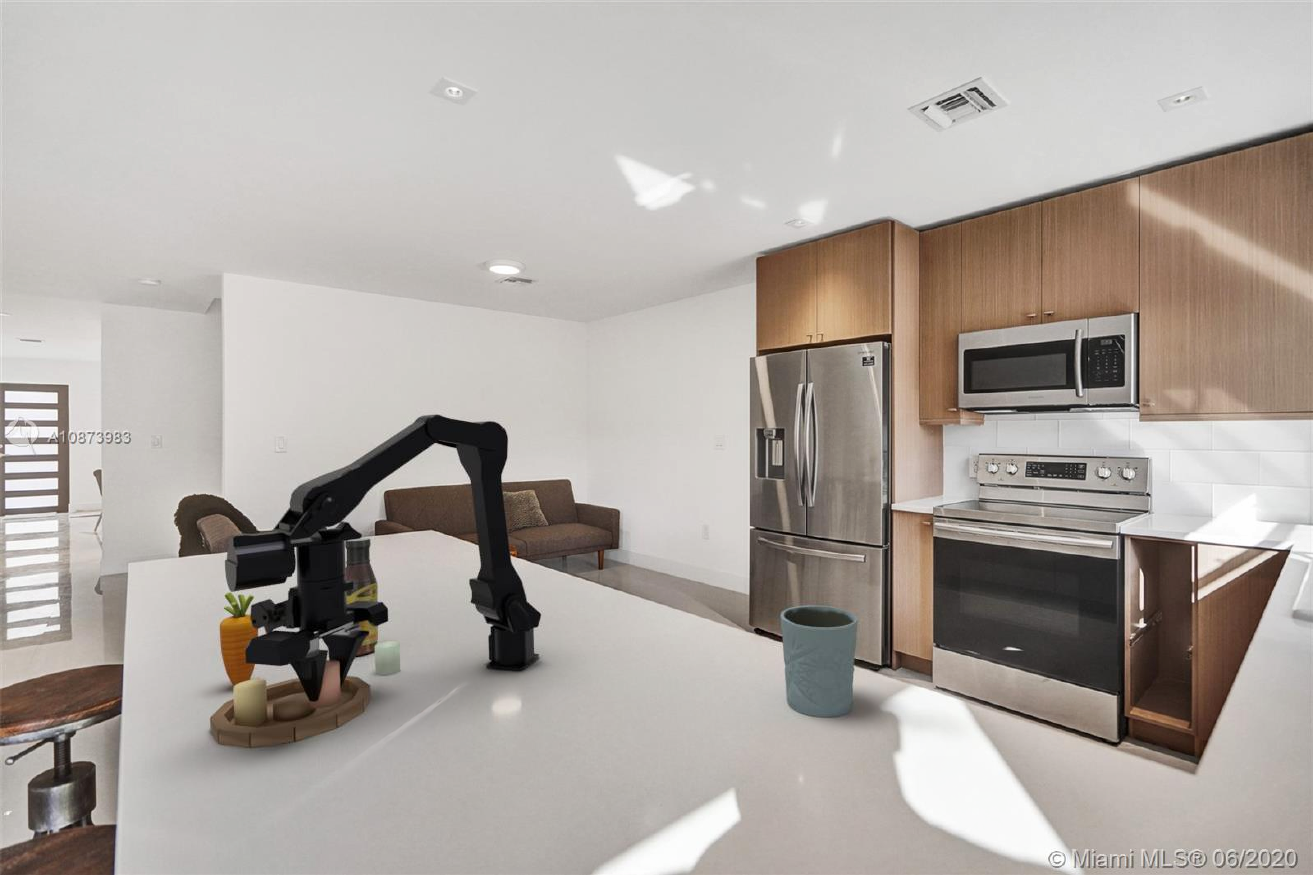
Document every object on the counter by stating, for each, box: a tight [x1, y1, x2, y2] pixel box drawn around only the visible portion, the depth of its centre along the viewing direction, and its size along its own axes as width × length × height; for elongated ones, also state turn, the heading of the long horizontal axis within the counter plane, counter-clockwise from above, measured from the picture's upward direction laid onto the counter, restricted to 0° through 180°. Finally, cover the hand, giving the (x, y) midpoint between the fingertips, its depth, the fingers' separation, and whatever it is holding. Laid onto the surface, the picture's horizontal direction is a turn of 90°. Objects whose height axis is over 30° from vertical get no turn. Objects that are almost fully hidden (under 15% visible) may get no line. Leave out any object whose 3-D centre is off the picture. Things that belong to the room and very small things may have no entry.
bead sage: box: [374, 640, 401, 676], centre depth 100 cm, size 4×4×5 cm
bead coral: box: [310, 659, 341, 708], centre depth 84 cm, size 4×4×5 cm
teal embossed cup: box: [780, 604, 859, 718], centre depth 85 cm, size 10×10×12 cm
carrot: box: [219, 591, 259, 687], centre depth 95 cm, size 5×5×15 cm
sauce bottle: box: [345, 537, 379, 657], centre depth 112 cm, size 7×6×20 cm
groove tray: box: [209, 675, 372, 748], centre depth 85 cm, size 18×18×2 cm
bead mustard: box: [232, 678, 267, 727], centre depth 83 cm, size 4×4×5 cm
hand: (325, 694), depth 84 cm, fingers closed on bead coral, 4 cm apart
